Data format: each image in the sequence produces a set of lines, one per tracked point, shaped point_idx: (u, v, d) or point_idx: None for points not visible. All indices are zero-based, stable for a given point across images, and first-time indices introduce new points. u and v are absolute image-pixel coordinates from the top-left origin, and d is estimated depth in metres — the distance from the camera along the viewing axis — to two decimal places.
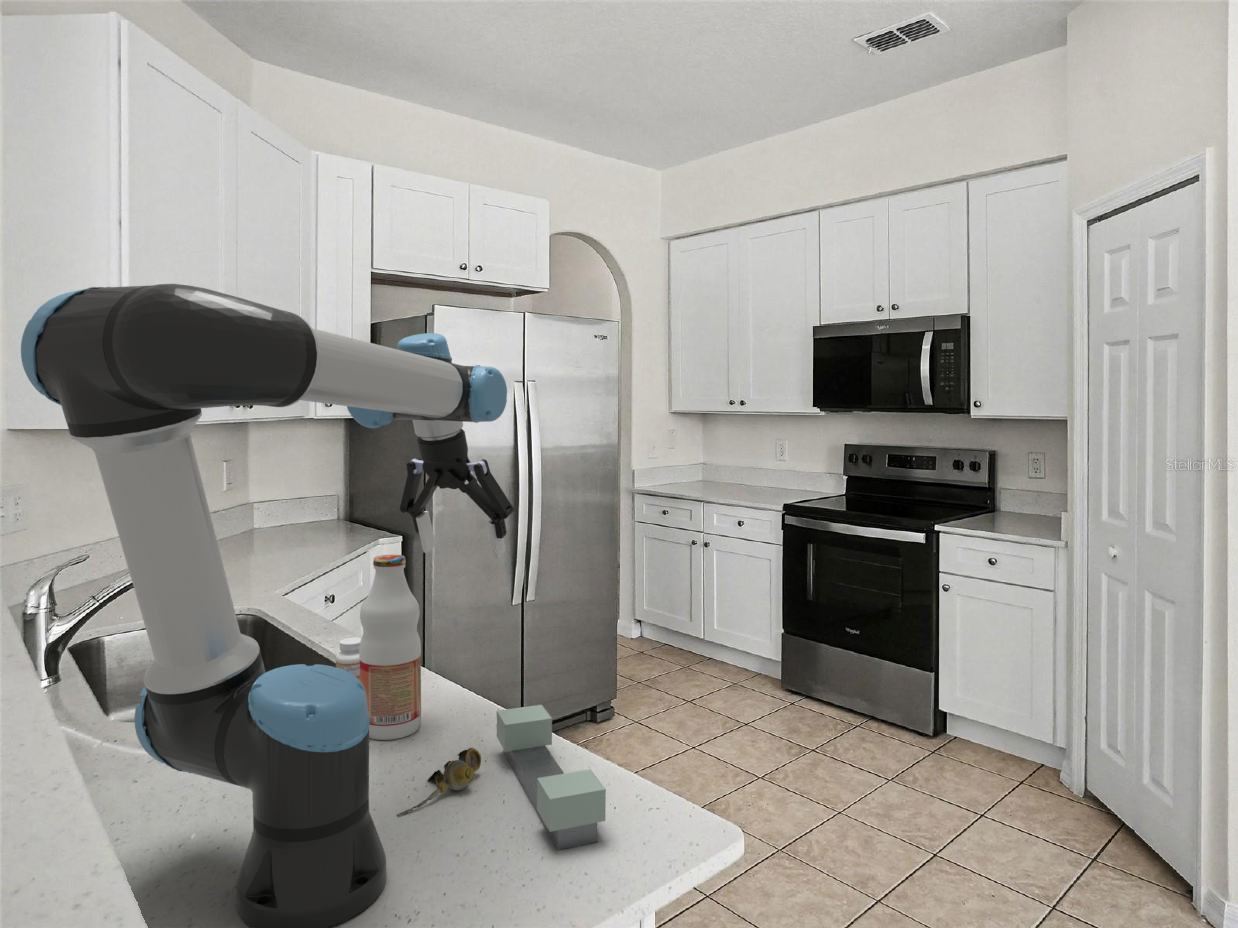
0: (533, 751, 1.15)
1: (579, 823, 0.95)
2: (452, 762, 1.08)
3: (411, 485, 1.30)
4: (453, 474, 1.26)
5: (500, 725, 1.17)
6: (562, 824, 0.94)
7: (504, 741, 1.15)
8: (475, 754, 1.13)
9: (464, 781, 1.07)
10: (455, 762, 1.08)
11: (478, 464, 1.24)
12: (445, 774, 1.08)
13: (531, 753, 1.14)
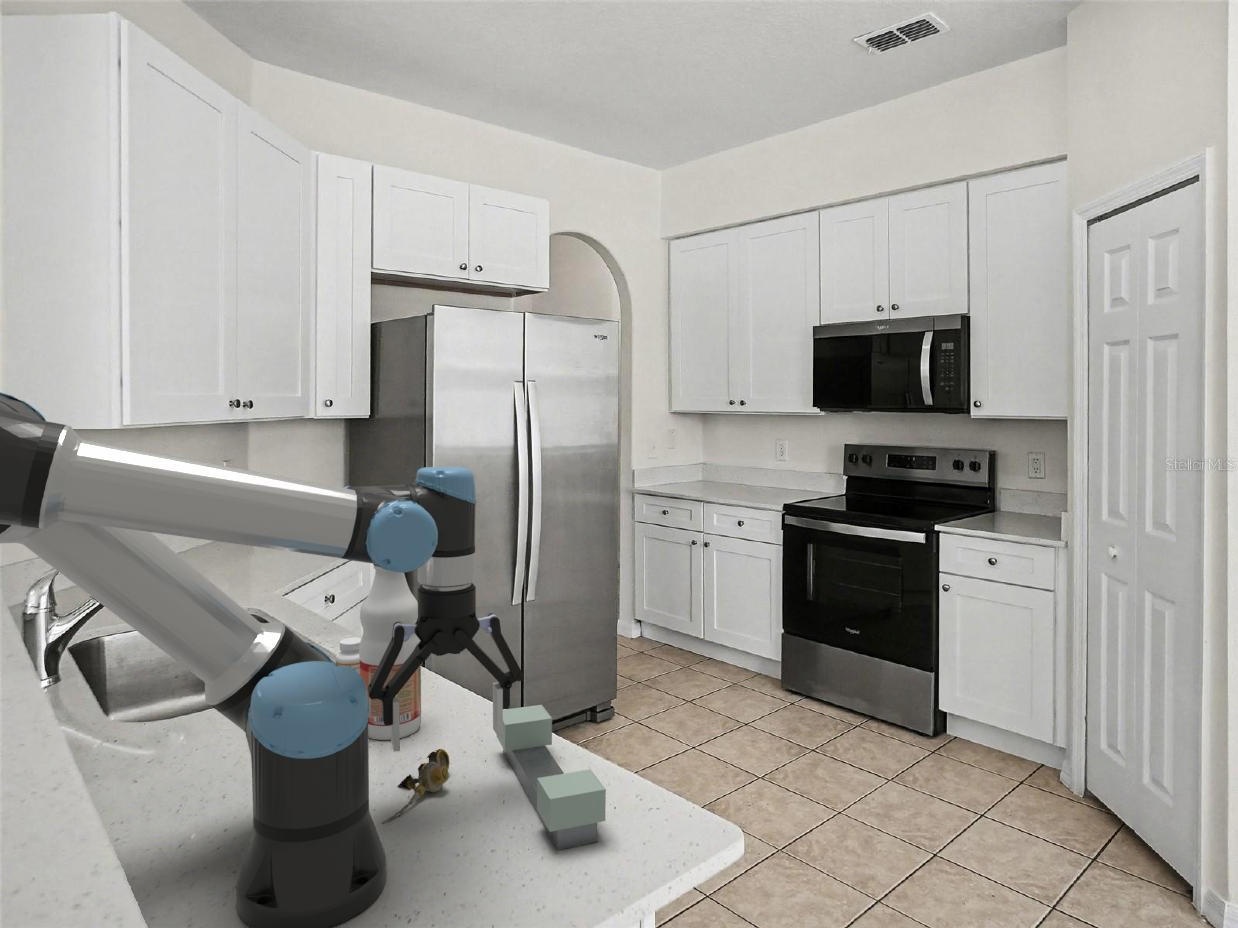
0: (533, 751, 1.15)
1: (579, 823, 0.95)
2: (426, 764, 1.08)
3: (395, 658, 1.02)
4: (464, 633, 1.05)
5: None
6: (562, 824, 0.94)
7: (504, 741, 1.15)
8: (443, 755, 1.12)
9: (441, 782, 1.07)
10: (429, 764, 1.08)
11: (496, 617, 1.07)
12: (421, 777, 1.07)
13: (531, 753, 1.14)
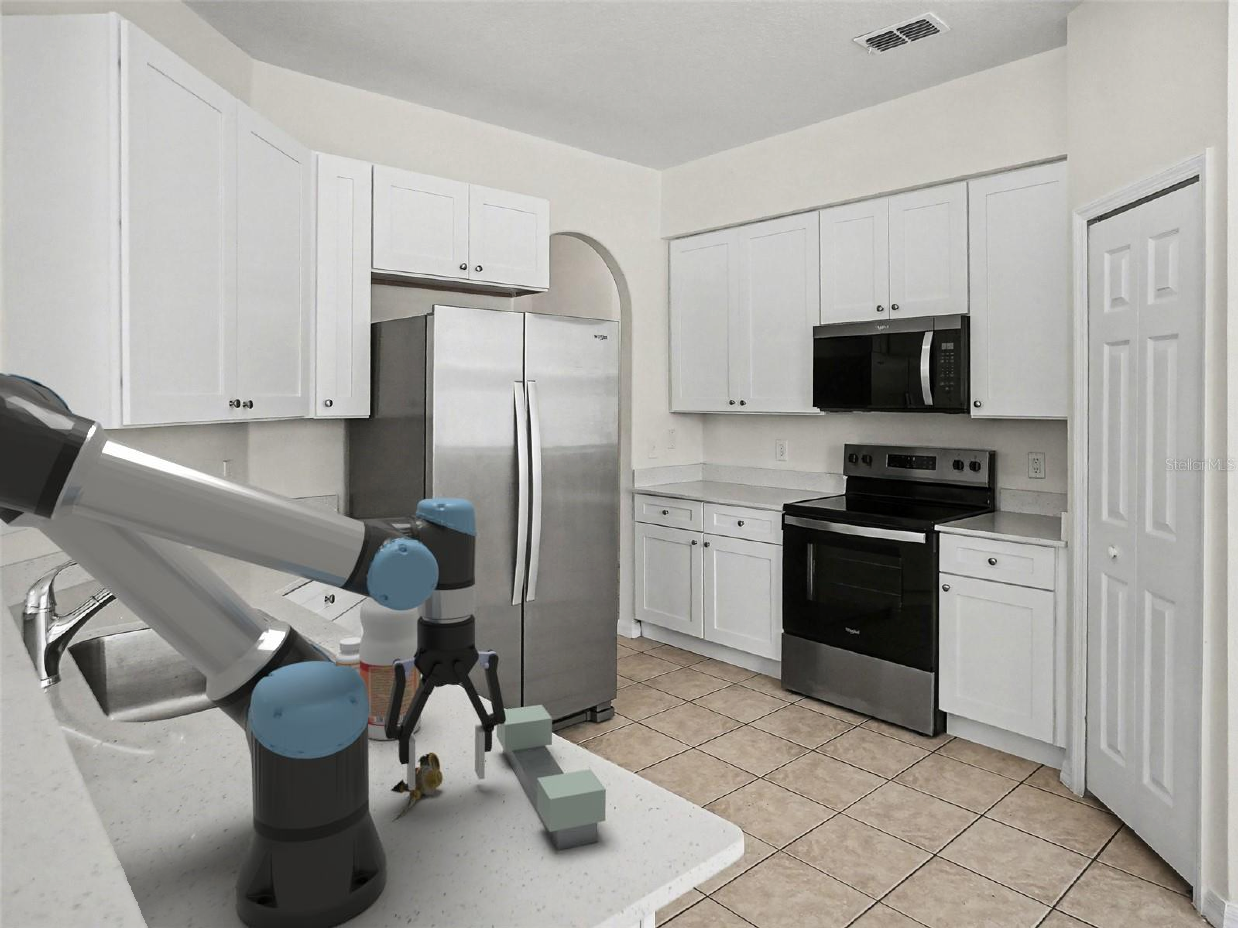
0: (533, 751, 1.15)
1: (579, 823, 0.95)
2: (420, 768, 1.07)
3: (402, 695, 1.03)
4: (463, 666, 1.05)
5: (500, 725, 1.17)
6: (562, 824, 0.94)
7: (504, 741, 1.15)
8: (434, 758, 1.12)
9: (437, 785, 1.07)
10: (423, 768, 1.07)
11: None
12: (415, 781, 1.06)
13: (531, 753, 1.14)
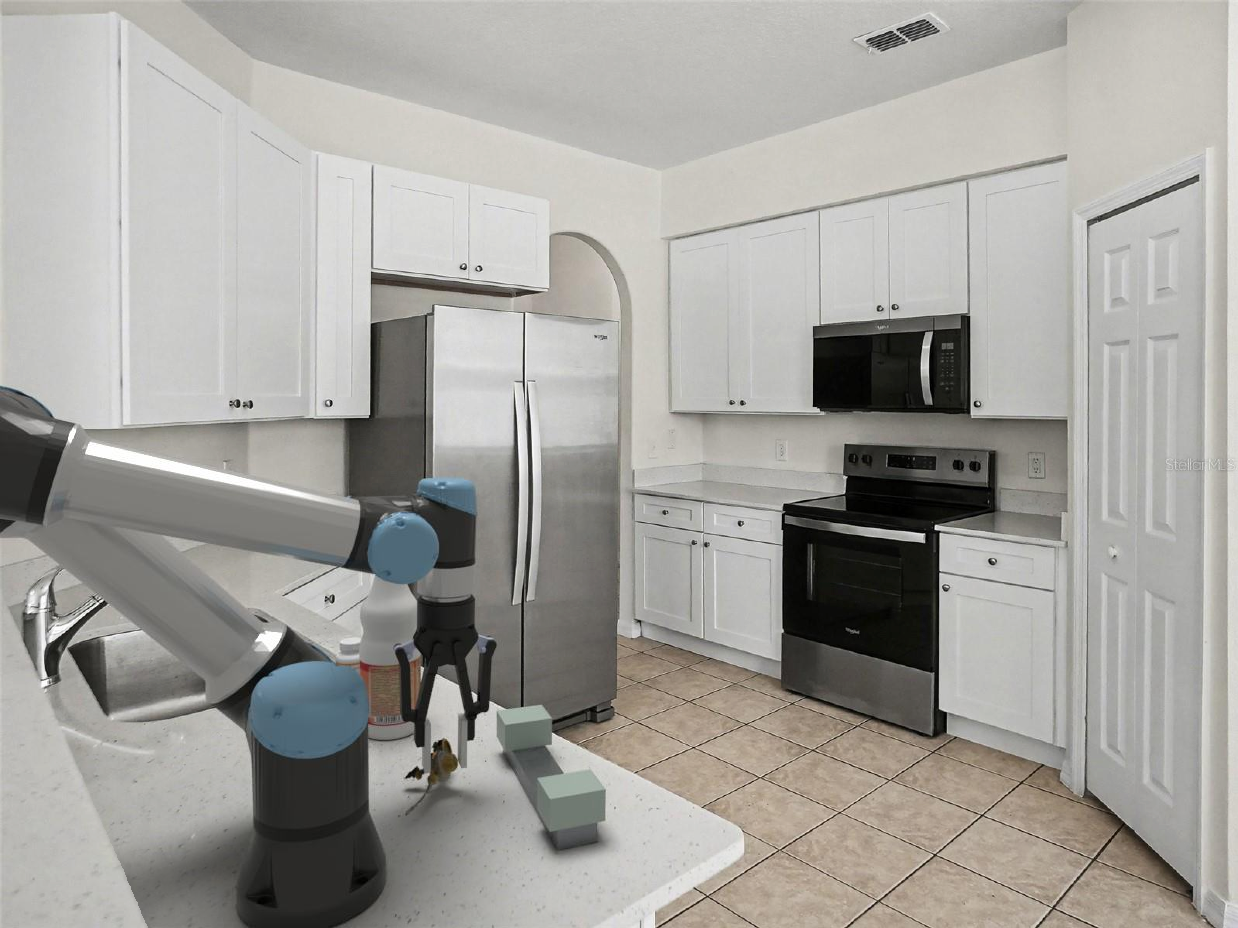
0: (533, 751, 1.15)
1: (579, 823, 0.95)
2: (436, 753, 1.08)
3: (409, 677, 1.03)
4: (462, 647, 1.05)
5: (500, 725, 1.17)
6: (562, 824, 0.94)
7: (504, 741, 1.15)
8: (446, 744, 1.12)
9: (453, 769, 1.07)
10: (439, 753, 1.08)
11: None
12: (432, 766, 1.07)
13: (531, 753, 1.14)
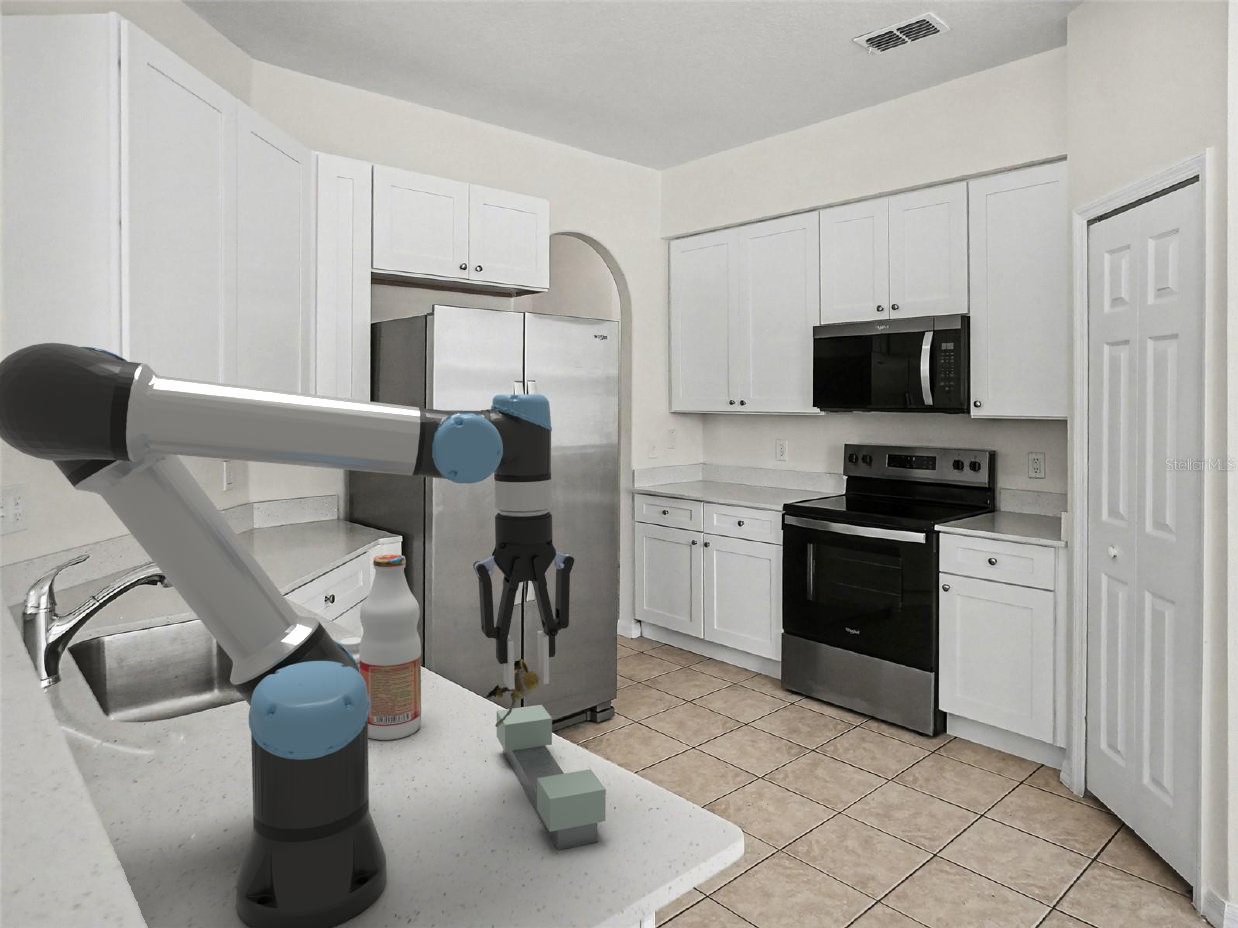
0: (533, 751, 1.15)
1: (579, 823, 0.95)
2: (517, 671, 1.08)
3: (491, 593, 1.03)
4: None
5: (500, 725, 1.17)
6: (562, 824, 0.94)
7: (504, 741, 1.15)
8: (523, 665, 1.13)
9: (535, 686, 1.07)
10: (520, 671, 1.08)
11: None
12: None
13: (531, 753, 1.14)
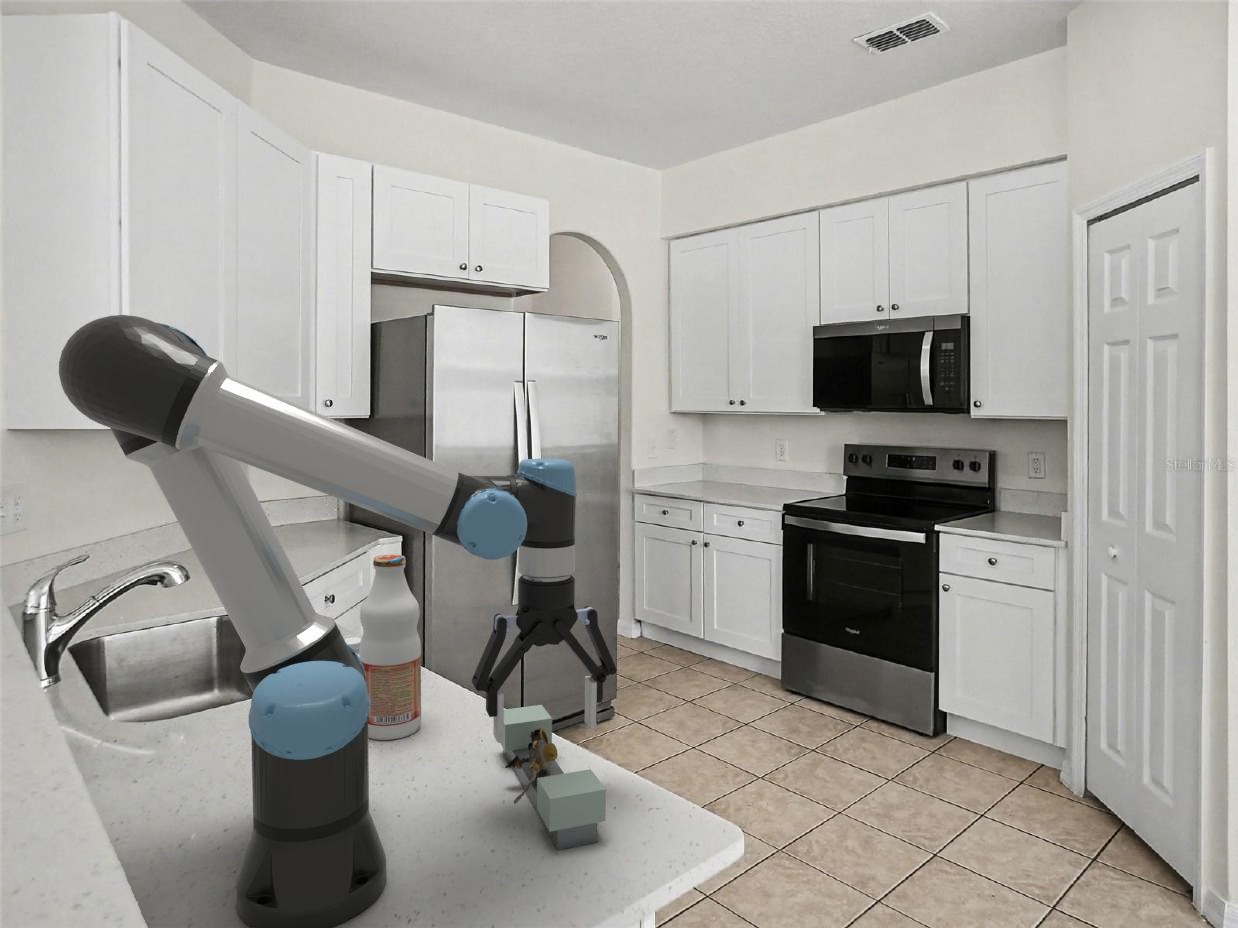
0: None
1: (579, 823, 0.95)
2: (536, 743, 1.09)
3: (499, 649, 1.03)
4: (564, 624, 1.05)
5: None
6: (562, 824, 0.94)
7: (504, 741, 1.15)
8: (542, 734, 1.13)
9: (554, 758, 1.08)
10: (539, 742, 1.09)
11: (593, 609, 1.08)
12: (533, 756, 1.08)
13: None
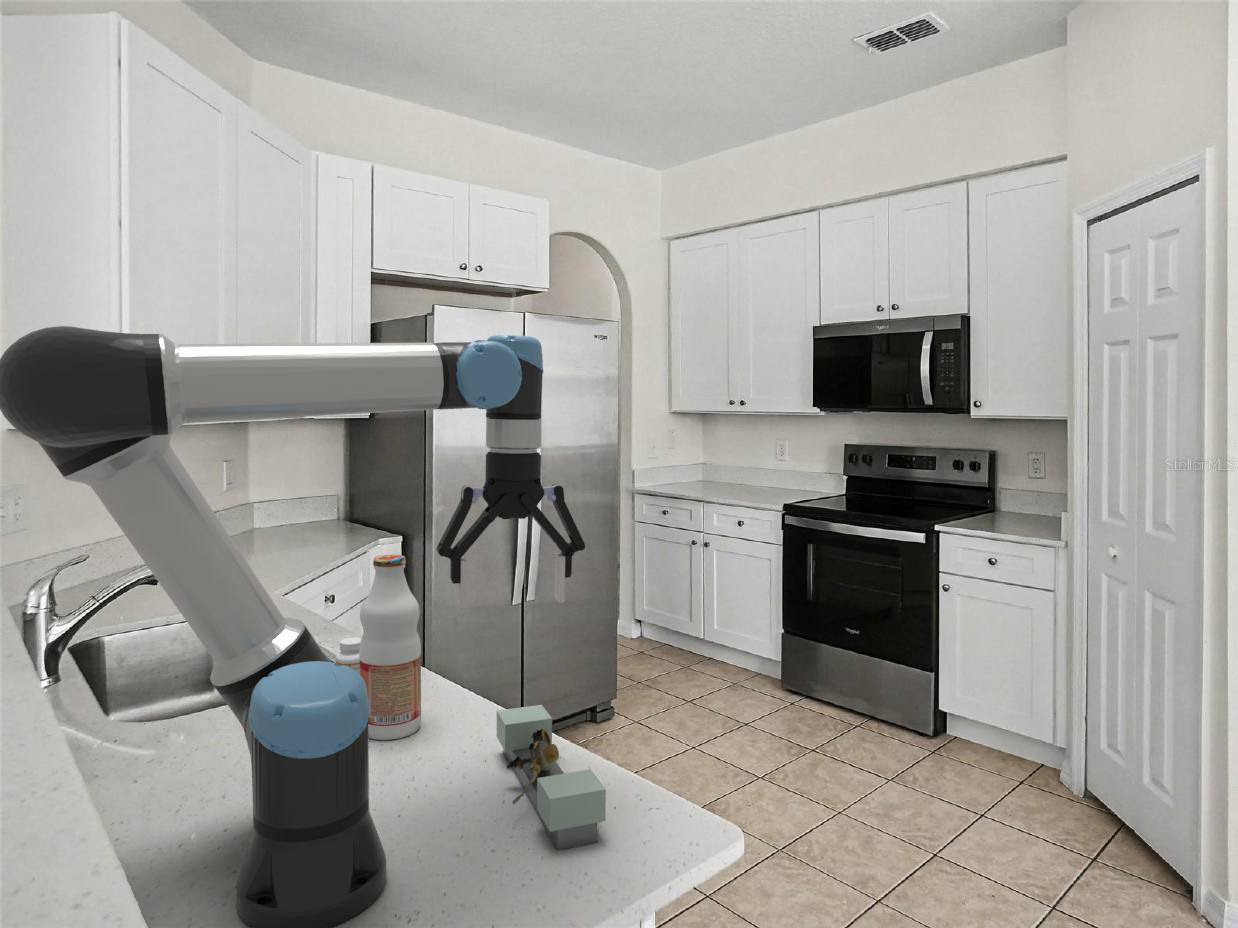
0: None
1: (579, 823, 0.95)
2: (537, 743, 1.08)
3: (464, 517, 1.06)
4: (530, 498, 1.08)
5: (500, 725, 1.17)
6: (562, 824, 0.94)
7: (504, 741, 1.15)
8: (545, 734, 1.13)
9: (555, 759, 1.08)
10: (541, 743, 1.09)
11: (560, 486, 1.10)
12: (534, 756, 1.07)
13: None
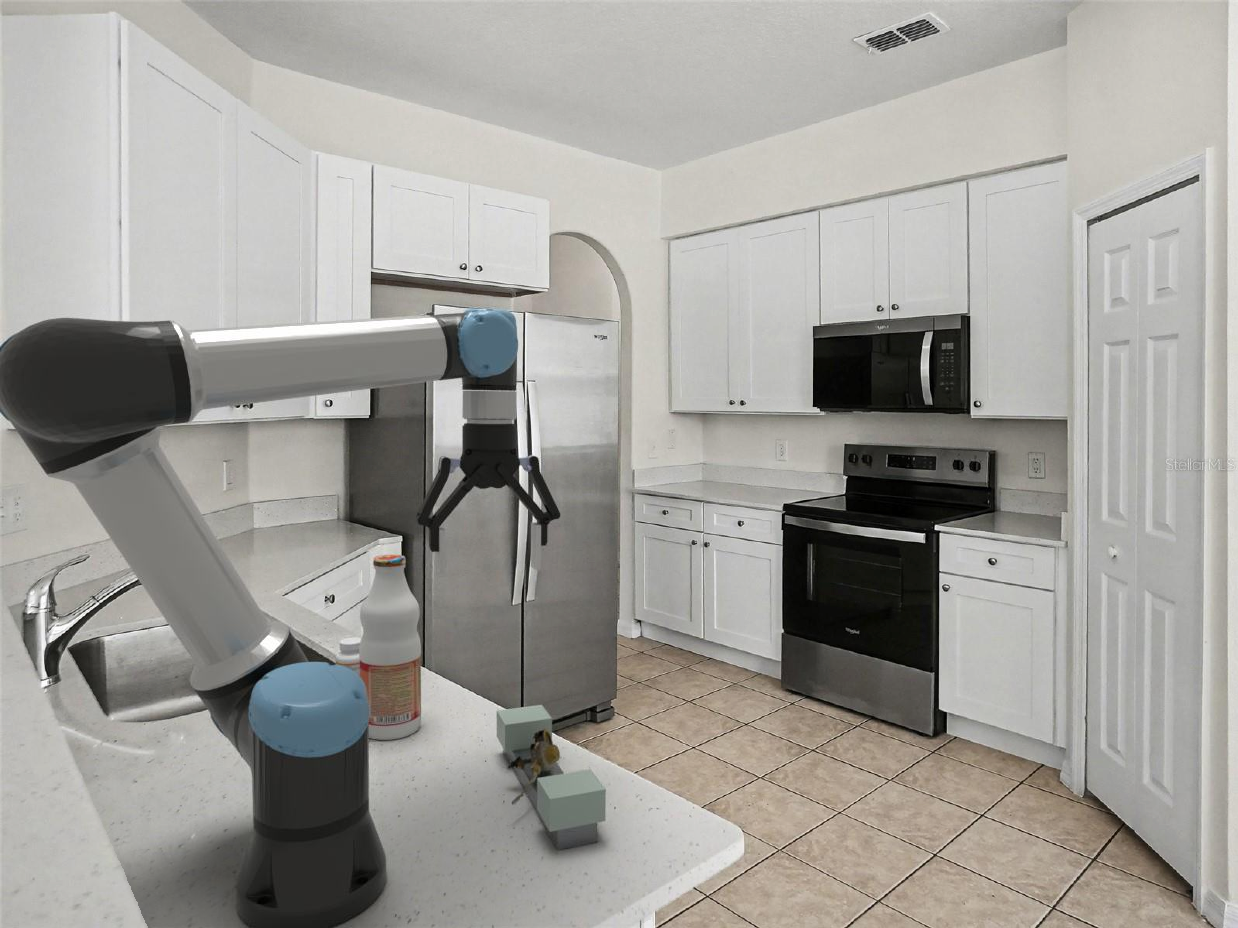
0: None
1: (579, 823, 0.95)
2: (538, 744, 1.08)
3: (442, 487, 1.08)
4: (506, 468, 1.11)
5: (500, 725, 1.17)
6: (562, 824, 0.94)
7: (504, 741, 1.15)
8: (547, 735, 1.13)
9: (556, 760, 1.08)
10: (541, 743, 1.08)
11: None
12: (535, 757, 1.07)
13: None
